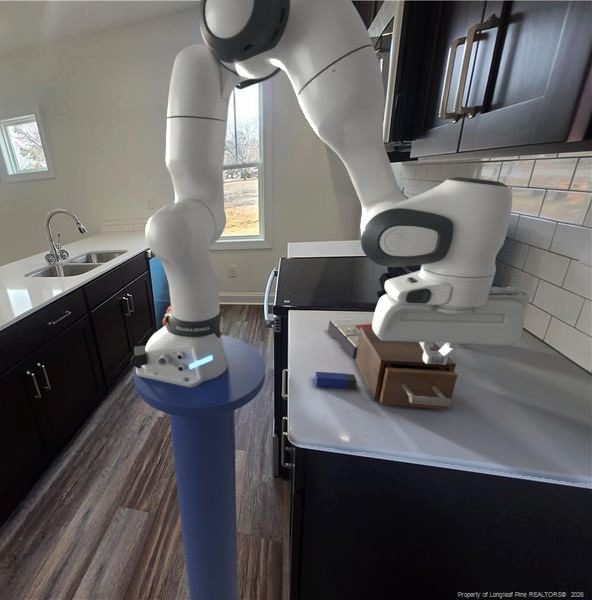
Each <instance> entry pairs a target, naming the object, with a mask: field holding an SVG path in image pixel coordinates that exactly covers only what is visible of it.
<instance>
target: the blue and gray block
mask: <svg viewBox="0 0 592 600" xmlns="http://www.w3.org/2000/svg"><path fill="white" fill-rule="evenodd" d="M357 381H358V380H357V378H356V376H355V374H353V373H341V372H329V371H327V372H326V371H315V373H314V383H315V387H317V388H330V389H342V390H356V388H357Z"/></svg>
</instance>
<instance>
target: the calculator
mask: <svg viewBox="0 0 592 600" xmlns="http://www.w3.org/2000/svg"><path fill="white" fill-rule="evenodd" d="M328 322H329V323H328V328H327V333H328V334H329V335H330V336H331V337H332V338H334V339H335V340H336V341H337V342H338V343H339V344H340V346H342V347H343V349H344V350H345V351H346V352H347V353H348V355H349V356H350V357H351V358H352V359H355V360H356V355H357V348H358V341H359V334H360V327H372V322H371V321H370V320H369V319H368V318H366V317H359V318H345V319H344V318H343V319H332V320H329V321H328Z"/></svg>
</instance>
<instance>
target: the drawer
mask: <svg viewBox="0 0 592 600" xmlns="http://www.w3.org/2000/svg"><path fill="white" fill-rule="evenodd" d="M445 370H446V368H445V367H432V366H415V365H398V364H385V366H384V371H383V377H382V382H381V387H380V393H381V395H380V401H379V402H380V404H381V405H387V406H399V407H412V408H424V409H437V410H445V411H446V410H449V407H452V396H453V393H454V389H455V386H456V382H457V380H458V376H459V375H458V373H456V371H455V370H454V371H445Z"/></svg>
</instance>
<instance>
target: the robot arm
mask: <svg viewBox="0 0 592 600" xmlns="http://www.w3.org/2000/svg"><path fill="white" fill-rule="evenodd" d="M198 22H199V29H200V32H201V36H202V39H203V41H204V42H203V43H196V44H191V45H188V46H186V47H184V48H183V49H182V50H180V51H179V52H178V53H177V55H176V57H175V59H174V62H173V67H172V72H171V77H170V83H169V91H168V98H167V99H168V100H167V114H166V143H165V144H166V145H165V165H166V168H167V171H168V172H169V174H170V177H171V181H172V185H173V192H174V202H170V203H167V204H165V205H164V206H162V207H161V208H159V209H158V210H157V211H156V212H155V213H153V215H151V216H150V218H149V219H148V221H147V223H146V225H145V233H144V235H145V236H144V237H145V241H146V244H147V247H148V249H149V251H150V252H151V253H152V254H153V255H154V256H155V257H156V258H157V259H159V261H160V262H161V265H162V267H163V270H164V273H165V276H166V279H167V283H168V290H169V299H170V305H169V306H168V308H167V309H166V313H165V314H164V316H163V319H162V327H161V328H160V329H158V330H157V331H155V332H154V333H153V334H152V335H151V336H150V338H149V339H148V341H147V343H146V345H139V346H138V345H137V346H134V347H133V349H134V351H133V352H134V354H133V355H132V357H131V359H130V363H131V365H132V367H134V368H135V367H136V373H137V375H138V376H140V377H144V378H149V379H153V380H158V381H163V382H167V383H172V384H176V385H181V386H186V387H191V388H192V387H196V386H198V385H199V384H201V383H202V382H204V381H207V380H210V379H213V378H216V377H218V376H219V375H221V374H222V373H223V372H224V371H225V370H226V369H227V367H228V360H227V358H226V355H225V352H224V348H223V343H222V336H221V335H223V315H222V310H221V308H220V283H219V282H220V280H219V277H218V275H217V274H216V272H215V270H214V267H213V263H212V259H211V246H212V245H214V244H215V243H216V242H217V241H218V240H219V239H220V238H221V236H222V235H223V232H224V230H225V228H226V224H227V214H226V211H225V191H224V189H225V188H224V160H225V159H224V158H225V149H226V139H227V128H228V119H229V117H228V116H229V106H230V100H231V95H232V93H233V92H234V89H235V88H236V89H238V90H244V89H246V88H248V87H251V86H255V85H257V84H260V83H263V82H266V81H269V80H270V79H273V78H274V77H276V76H277V75H278V74H279V73H280V72H281V71H282V70H283V72H285V73H286V74H287V77H288V78H289V81H290V83H291V85H292V88H293V91H294V93H295V95H296V98H297V100H298V104H299V106H300V108H301V110H302V112H303V114H304V116H305V118H306V119H307V121H308V123H309V124H310V126H311V127H312V129H313V131H314V132H315V133H316V135H317V136H318V137H319V138H320V140H322V142H324V143H325V144H326V145H327V146H328V147H329V148H330V149H331V150H332V151H333V152H334V153H335V154H336V155H337V156H338V158H340V160H341V161H342V163H343V165H344V166H345V168H346V170H347V172H348V175H349V177H350V180H351V182H352V185H353V187H354V189H355V192H356V195H357V197H358V200H359V202H360V207H361V218H360V245H361V249H362V251H363V254H364V255H365V256H366V258H368V259H369V261H371V262H373V263H374V264H377V265H379V266H382V267H387V268H400V267H401V268H402V267H415V266H420V270H417V271H413V272H410V273H407V274H403V275H400V276H396V277H392V278H389V279H387V280H386V281H385V282H384V290H385V292H386V293H385V294H383V295H381V297H380V298H379V300H378V301H377V304H376V307H375V309H374V313H373V317H372V322H371V323H372V329H373V331H374V333H375V334H376V336H377V337H378V338H379V339H380V340H383V341H407V342H419V343H420V345H421V347H422V349H423V351H424V353H423V357H422V358H423V361H424V362H425V363H426V364H442V365H446V364H447V360H448V357H449V358H450V357H451V356H452V355H453V354H454V353H456V352H457V351H458V350H459V349H460V346H461V345H489V346H513V345H515V344H516V343H518V342H519V341H520V340H521V337H522V334H523V329H524V324H525V313H526V312H525V310H527V307H528V303H529V301H530V296H529V295H528V293H527V292H526V291H524V290H523V289H521V288H520V287H516V286H508V287H500V286H499V287H498V286H492V285H493V282H494V278H495V275H496V272H497V271H496V270H497V266H496V258H497V255H498V253H499V252H500V250H501V249H502V248H503V246H504V243H505V242H506V241H505V240H506V237H507V233H508V229H509V224H510V219H511V214H512V209H513V207H512V206H513V192H512V190H511V188H509V186H508V185H507V184H505V183H503V182H501V181H498V180H491V179H482V178H475V177H473V178H472V177H463V176H456V177H450V178H447V179H445V180H444V181H443V182H441V183H440V184H438V185H437V186H434V187H433V188H430V189H429V190H426V191H424V192H423V193H420V194H417V195H415V196H412V197H410V198H409V197H408V196H407V195H405V193H404V192H403V191H402V189H401V188H400V185H399V184H398V183H399V182H398V180H397V178H396V175H395V172H394V170H393V167H392V164H391V161H390V159H389V156H388V152H387V150H386V147H385V142H384V132H383V131H384V130H383V129H384V127H383V126H384V115H385V106H386V105H385V104H386V100H385V99H386V97H385V87H384V80H383V74H382V70H381V65H380V61H379V58H378V54H377V52H376V49H375V47H374V44H373V41H372V39H371V36H370V34H369V31H368V30H367V29H368V28H367V27H366V24H365V23H364V21H363V19H362V17H361V15H360V13H359V12H358V10H357V8H356V6H355V5H354V3H353V2H352V0H200V3H199V10H198ZM434 343H436V344H444V345H442V347H440V348H441V349H440V350H439V351H431V350H430V348H429V347H433V346H434Z"/></svg>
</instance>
